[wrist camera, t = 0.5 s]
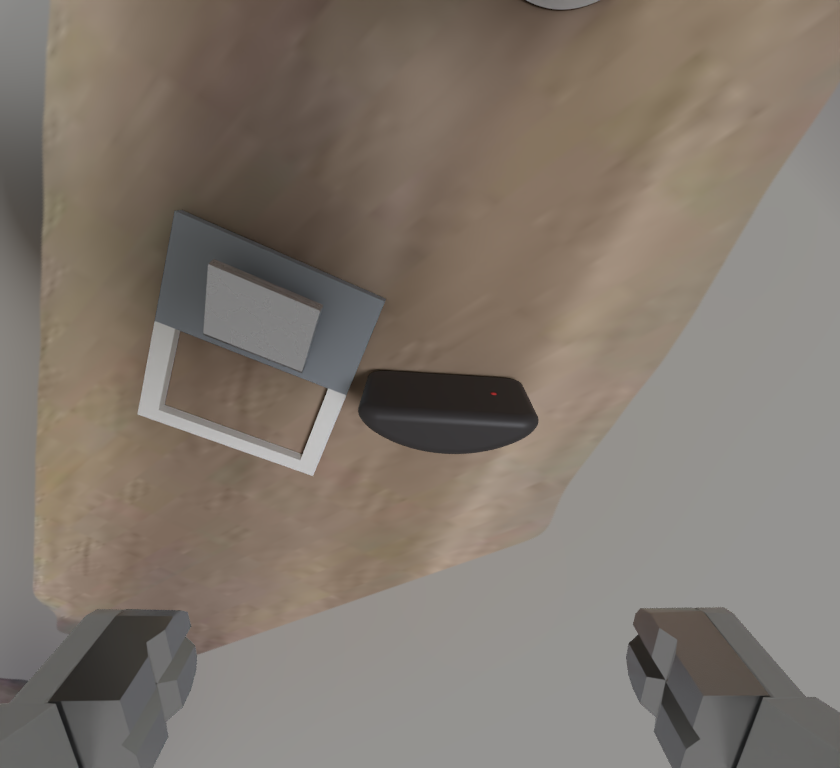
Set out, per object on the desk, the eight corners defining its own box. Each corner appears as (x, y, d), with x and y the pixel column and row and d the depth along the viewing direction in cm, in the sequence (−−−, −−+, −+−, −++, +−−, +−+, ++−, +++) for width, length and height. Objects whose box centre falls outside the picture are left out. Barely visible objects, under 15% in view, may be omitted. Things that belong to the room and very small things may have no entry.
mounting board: (181, 209, 39) (174, 210, 38) (385, 298, 42) (384, 301, 41) (144, 409, 48) (137, 414, 46) (315, 469, 51) (313, 475, 50)
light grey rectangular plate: (213, 258, 37) (208, 264, 36) (323, 305, 39) (320, 310, 38) (208, 331, 42) (202, 336, 42) (304, 368, 44) (301, 375, 43)
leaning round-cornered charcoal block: (368, 404, 47) (356, 452, 38) (369, 365, 45) (355, 408, 37) (514, 413, 47) (534, 463, 39) (521, 375, 45) (543, 419, 37)
